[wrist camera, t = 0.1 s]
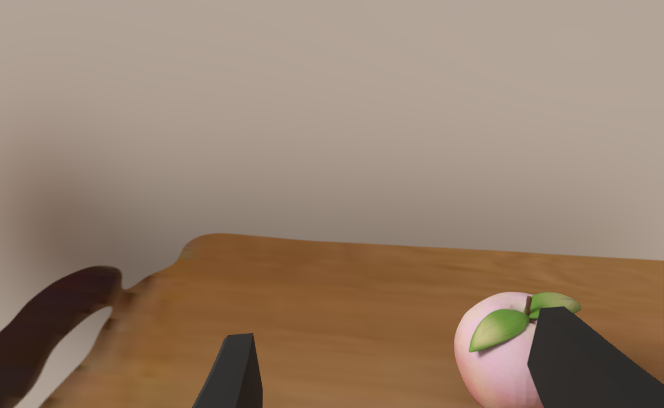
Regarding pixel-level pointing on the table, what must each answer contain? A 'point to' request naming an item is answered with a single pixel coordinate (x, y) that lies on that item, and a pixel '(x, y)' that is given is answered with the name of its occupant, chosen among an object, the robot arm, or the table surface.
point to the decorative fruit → (503, 347)
